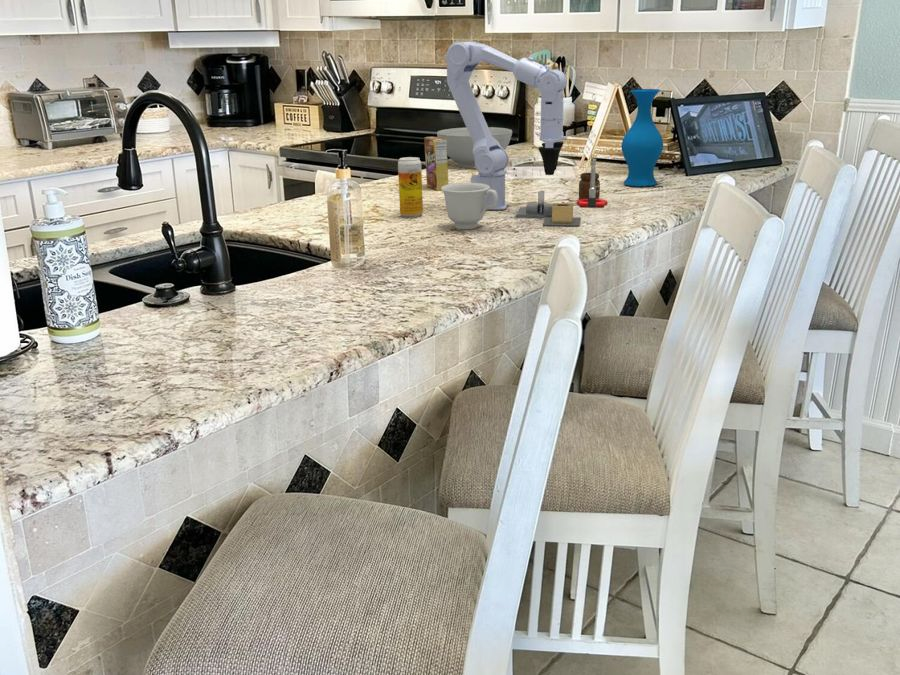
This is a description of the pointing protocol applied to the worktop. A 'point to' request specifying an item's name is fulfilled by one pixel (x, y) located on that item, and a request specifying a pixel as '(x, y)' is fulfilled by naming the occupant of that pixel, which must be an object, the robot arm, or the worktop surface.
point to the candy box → (436, 162)
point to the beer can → (410, 187)
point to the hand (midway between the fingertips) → (550, 172)
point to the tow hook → (592, 193)
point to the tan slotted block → (562, 213)
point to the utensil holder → (588, 183)
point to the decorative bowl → (469, 143)
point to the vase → (642, 142)
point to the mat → (574, 223)
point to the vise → (536, 209)
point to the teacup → (467, 203)
